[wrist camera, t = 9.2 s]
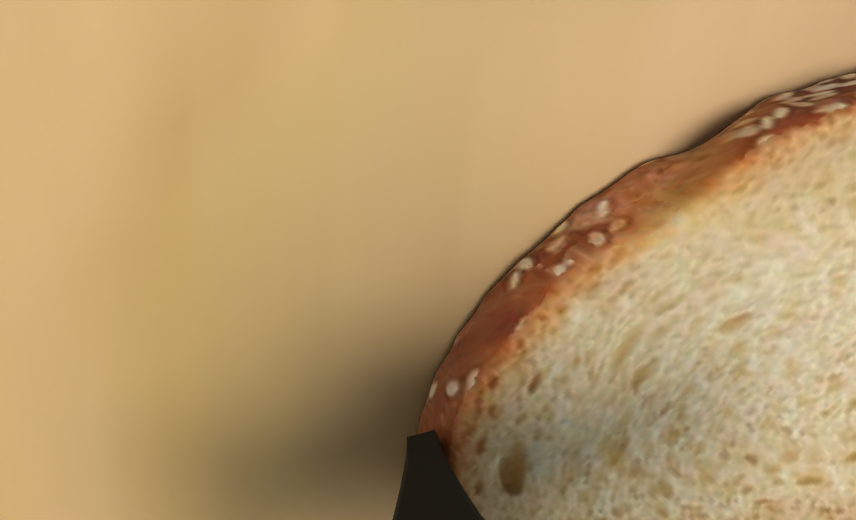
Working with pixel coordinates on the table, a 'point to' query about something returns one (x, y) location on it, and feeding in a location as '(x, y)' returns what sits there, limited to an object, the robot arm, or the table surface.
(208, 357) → the table surface
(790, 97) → the bread slice
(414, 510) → the robot arm
